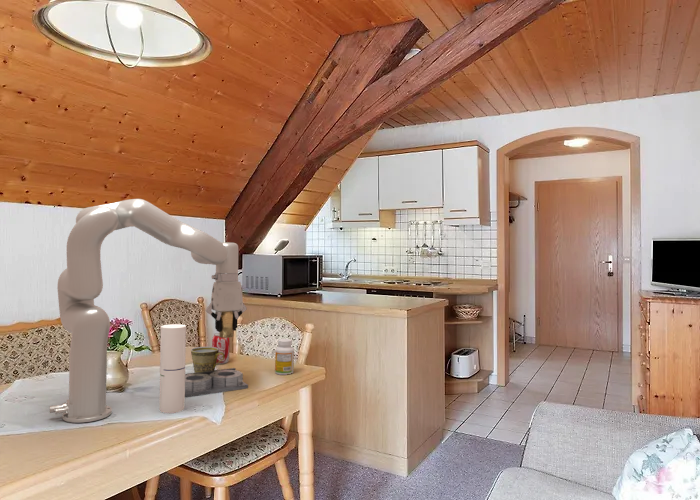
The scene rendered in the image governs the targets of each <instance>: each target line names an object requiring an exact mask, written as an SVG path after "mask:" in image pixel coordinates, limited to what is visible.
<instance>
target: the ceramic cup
mask: <svg viewBox="0 0 700 500" xmlns="http://www.w3.org/2000/svg"><path fill="white" fill-rule="evenodd" d="M190 352H191V360H192V366H193V371H194V372H193V373H197V372H205V371H213V370H216V367H217V365H219V364H218V363H219V362H221V361H222V360H223V359H224V357H225V356H224V353H222V352H219V349H218V348H216V347H212V346H198V347H194V348H191V350H190ZM218 352H219V353H218ZM219 354H222V355H223V359H222V360H220V361H219V362H218V363H217V364H216V362H217V357H218V355H219Z"/></svg>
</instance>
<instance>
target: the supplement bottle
mask: <svg viewBox="0 0 700 500" xmlns="http://www.w3.org/2000/svg"><path fill="white" fill-rule="evenodd" d="M292 341H293V340H292V339H290V338H280V339H278V341H277V345H278V346H277V347H276V348H275V352H274V353H275V356H274V357H275V359H274V362H275V363H274V372H275V374H276V375H279V376H288V375H287V374H290V375H292V374H293V373H294V368H295V367H294V363H295V361H294V359H295V356H294V355H295V348H294V347H293V346H292V344H293V342H292ZM291 373H292V374H291Z"/></svg>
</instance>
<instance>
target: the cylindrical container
mask: <svg viewBox="0 0 700 500" xmlns="http://www.w3.org/2000/svg"><path fill="white" fill-rule="evenodd" d="M186 340H187V325H185V324H181V323H180V324H179V323H172V324H164V325H160V351H159V353H160V355H159V358H160V360H159V403H158V404H159V405H158V406H159V408H158V409H159V410H160V411H161V412H160V411H159V412H160V413H162V412H164V413H163V414H176V412H177V413H180V412H183V411H184V410H185V407H186V406H185V405H186V404H185V402H186V401H185V398H186V397H185V374H186V352H187V351H186V348H187V347H186V346H187V344H186V342H187V341H186ZM182 410H183V411H182Z"/></svg>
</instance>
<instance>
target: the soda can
mask: <svg viewBox="0 0 700 500" xmlns="http://www.w3.org/2000/svg"><path fill="white" fill-rule="evenodd" d="M230 344H231V343H230V338H221V337H219V332H216V333H213V337H212V339H211V347H216V348H218V349H219V352H222V353H224V356H225V357H224V359H223V355H222V354H219V355H218V357H217V362H216V364H217V363H218V362H219V361H220V360H222V359H223V360H222V361H221V362H219V363H218V364H217V365H225V364H227V363H228V362H229V361H230ZM219 352H218V353H219Z"/></svg>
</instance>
